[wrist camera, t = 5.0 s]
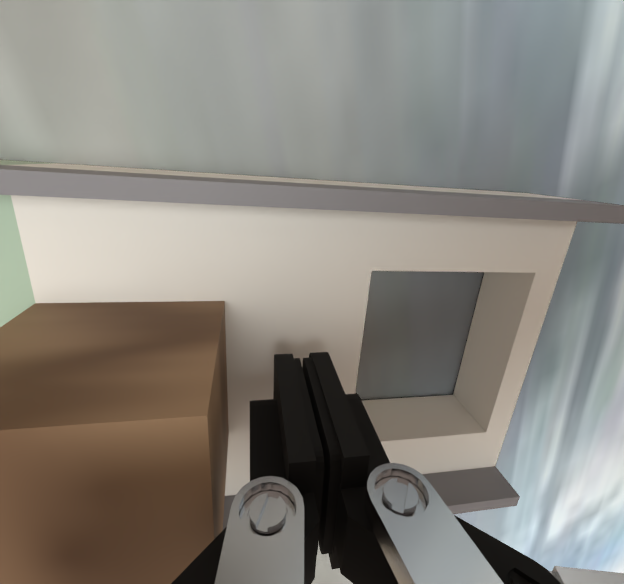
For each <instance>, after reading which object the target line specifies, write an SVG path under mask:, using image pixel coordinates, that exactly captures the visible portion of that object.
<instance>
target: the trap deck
mask: <svg viewBox="0 0 624 584" xmlns="http://www.w3.org/2000/svg"><path fill="white" fill-rule="evenodd" d="M577 221H578V222H599V223H621V224H624V205H618V204H610V203H602V202H594V201H586V200H578V199H570V198H562V197H554V196H547V195H539V194H531V193H519V192H503V191H487V190H471V189H455V188H439V187H424V186H408V185H392V184H376V183H360V182H344V181H329V180H313V179H297V178H281V177H265V176H250V175H234V174H218V173H202V172H186V171H170V170H155V169H139V168H123V167H107V166H91V165H75V164H60V163H44V162H28V161H12V160H0V327H2V326H3V325H4V324H6V323H7V322H9V321H10V320H12V319H13V318H15V317H16V316H17V315H19V314H20V313H22V312H23V311H25V310H26V309H28V308H29V307H30V306H32V305H33V304H35V303H90V302H174V301H225V331H226V363H227V394H228V426H229V437H228V452H227V468H226V484H225V500H224V515H223V530H224V529H225V528H226V527H227V523H228V519H229V514H230V509H231V505H232V503H233V500H234V498H235V496H236V494H237V493H238V492H239V490H240V489H241V488H242V487H243V486H244V485H246V484H247V483H249V482H250V401H253V400H268V399H273V390H274V354H293V357H294V358H300V361H301V365H302V364H303V358H309V354H310V353H314V352H328V353H329V355H330V357H331V360H332V362H333V365H334V367H335V370H336V372H337V375H338V377H339V380H340V382H341V385H342V387H343V390H344V392H345V394H355V391H356V384H357V376H358V369H359V361H360V354H361V346H362V339H363V332H364V324H365V317H366V309H367V302H368V294H369V287H370V280H371V272H372V271H430V272H484V276H483V280H482V284H481V287H480V291H479V295H478V299H477V303H476V307H475V311H474V315H473V319H472V323H471V327H470V331H469V335H468V338H467V342H466V346H465V350H464V354H463V358H462V362H461V366H460V370H459V374H458V378H457V382H456V386H455V390H454V393H453V395H441V396H425V397H409V398H394V399H378V400H362V403H363V405H364V407H365V409H366V411H367V414H368V416H369V418H370V420H371V422H372V424H373V427H374V429H375V431H376V433H377V435H378V437H379V440H380V442H381V444H382V446H383V448H384V450H385V453H386V455H387V457H388V459H389V461H390V463H397V464H404V465H406V466H409V467H411V468H413V469H415V470H416V471H418V472H419V473H421V474H422V475H423V476H424V477H425V478H426V479H427V480H428V481H429V482H430V483H431V485H432V486H433V488H434V489H435V490H436V492H437V493H438V494H439V496H440V497H441V499H442V500H443V501H444V503H445V504H446V505H447V507H448V508H449V509H450V511H451V512H452V514H458V513H465V512H473V511H480V510H487V509H495V508H502V507H509V506H516V505H517V503H518V500H519V497H520V496H519V495H518V494H517V493H516V491H515V490H514V489H513V488H512V486H511V485H510V484H509V483H508V482H507V480H506V479H505V478H504V477H503V475H502V474H501V473H500V472H499V470H498V469H497V468H496V467H495V465H496V462H497V459H498V456H499V453H500V450H501V447H502V444H503V441H504V438H505V435H506V432H507V429H508V426H509V423H510V420H511V417H512V414H513V412H514V409H515V406H516V403H517V400H518V397H519V394H520V391H521V388H522V385H523V382H524V379H525V376H526V373H527V370H528V367H529V364H530V361H531V358H532V355H533V352H534V349H535V346H536V343H537V340H538V337H539V334H540V331H541V328H542V325H543V322H544V319H545V316H546V313H547V310H548V307H549V304H550V301H551V298H552V295H553V292H554V289H555V286H556V283H557V280H558V277H559V274H560V271H561V268H562V265H563V262H564V259H565V256H566V253H567V250H568V247H569V244H570V241H571V238H572V236H573V233H574V230H575V227H576V224H577Z"/></svg>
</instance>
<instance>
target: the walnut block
mask: <svg viewBox="0 0 624 584" xmlns="http://www.w3.org/2000/svg"><path fill="white" fill-rule="evenodd" d="M228 437H229V426H228V394H227V363H226V331H225V301H174V302H90V303H35V304H33V305H32V306H30V307H29V308H28V309H26V310H25V311H23V312H22V313H20V314H19V315H17V316H16V317H15V318H13V319H12V320H10V321H9V322H7V323H6V324H4V325H3V326H2V327H0V584H171V583H172V582H173V581H174V580H175V579H176V578H177V577H178V576H179V575H180V574H181V573H182V572H183V571H184V570H185V569H186V568H187V567H188V566H189V565H190V564H191V563H192V562H193V560H194V559H195V558H196V557H197V556H198V555H199V554H200V553H201V552H202V551H203V550H204V549H205V548H206V547H207V546H208V545H209V544H210V543H211V542H212V541H213V540H214V539H215V538H216V537H217V536H218V535H219V534H220V533H221V532H222V531H223V515H224V500H225V484H226V468H227V452H228Z"/></svg>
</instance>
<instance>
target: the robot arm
mask: <svg viewBox="0 0 624 584" xmlns="http://www.w3.org/2000/svg"><path fill="white" fill-rule="evenodd" d="M318 541H319V546H320V551H321V553H322V554H327V553H329V557H330V562H331V567H332V569H336V568H340V571H341V574H342V575H343V576H345V577H346V578H347V579H348V580H350V581H351V582H352V583H353V584H624V573H615V572H606V571H596V570H587V569H578V568H569V567H559V566H554V569H553V571H548V570H547V569H545V568H544V567H543V566H541V565H540V564H538V563H537V562H535V561H534V560H532V559H530V558H529V557H527V556H525V555H523V554H522V553H520V552H518V551H516V550H515V549H513V548H511V547H509V546H508V545H506V544H504V543H502V542H500V541H499V540H497V539H495V538H493V537H492V536H490V535H488V534H486V533H485V532H483V531H481V530H479V529H478V528H476V527H474V526H472V525H471V524H469V523H467V522H465V521H463V520H462V519H460V518H458V517H456V516H455V515H453V514H452V512H451V511H450V509H449V508H448V507H447V505H446V504H445V503H444V501H443V500H442V499H441V497H440V496H439V494H438V493H437V492H436V490H435V489H434V488H433V486H432V485H431V483H430V482H429V481H428V480H427V479H426V478H425V477H424V476H423V475H422V474H421V473H419V472H418V471H416V470H415V469H413V468H411V467H409V466H406V465H404V464H397V463H390V461H389V459H388V457H387V455H386V453H385V450H384V448H383V446H382V444H381V442H380V440H379V437H378V435H377V433H376V431H375V429H374V427H373V424H372V422H371V420H370V418H369V416H368V414H367V411H366V409H365V407H364V405H363V403H362V401H361V398H360V397H359V395H358V394H345V392H344V390H343V387H342V385H341V382H340V380H339V377H338V375H337V372H336V370H335V367H334V365H333V362H332V360H331V357H330V355H329V353H328V352H314V353H310V354H309V358H303V364H302V365H301V361H300V358H294V357H293V354H274V390H273V399H268V400H253V401H250V482H249V483H247V484H246V485H244V486H243V487H242V488H241V489H240V490H239V492H238V493H237V494H236V496H235V498H234V500H233V503H232V505H231V509H230V514H229V519H228V523H227V527H226V528H225V529H224V530H223V531H222V532H221V533H220V534H219V535H218V536H217V537H216V538H215V539H214V540H213V541H212V542H211V543H210V544H209V545H208V546H207V547H206V548H205V549H204V550H203V551H202V552H201V553H200V554H199V555H198V556H197V557H196V558H195V559H194V560H193V562H192V563H191V564H190V565H189V566H188V567H187V568H186V569H185V570H184V571H183V572H182V573H181V574H180V575H179V576H178V577H177V578H176V579H175V580H174V581H173V582H172V583H171V584H311V583H312V581H313V580H314V578H315V566H316V555H317V550H318Z"/></svg>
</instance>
